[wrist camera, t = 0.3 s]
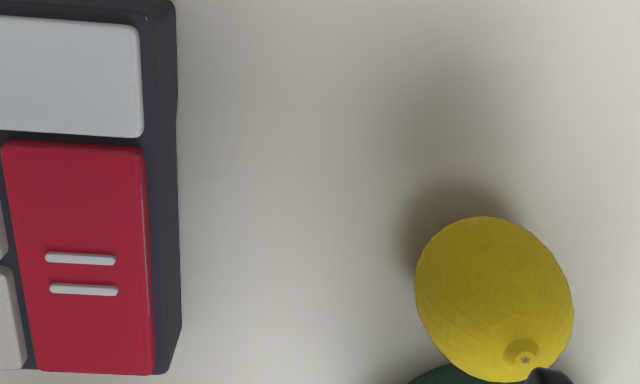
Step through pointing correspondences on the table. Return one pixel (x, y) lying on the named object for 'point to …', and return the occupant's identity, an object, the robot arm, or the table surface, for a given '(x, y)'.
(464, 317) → the lemon
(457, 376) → the pot
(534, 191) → the table surface
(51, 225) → the calculator
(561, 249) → the table surface
